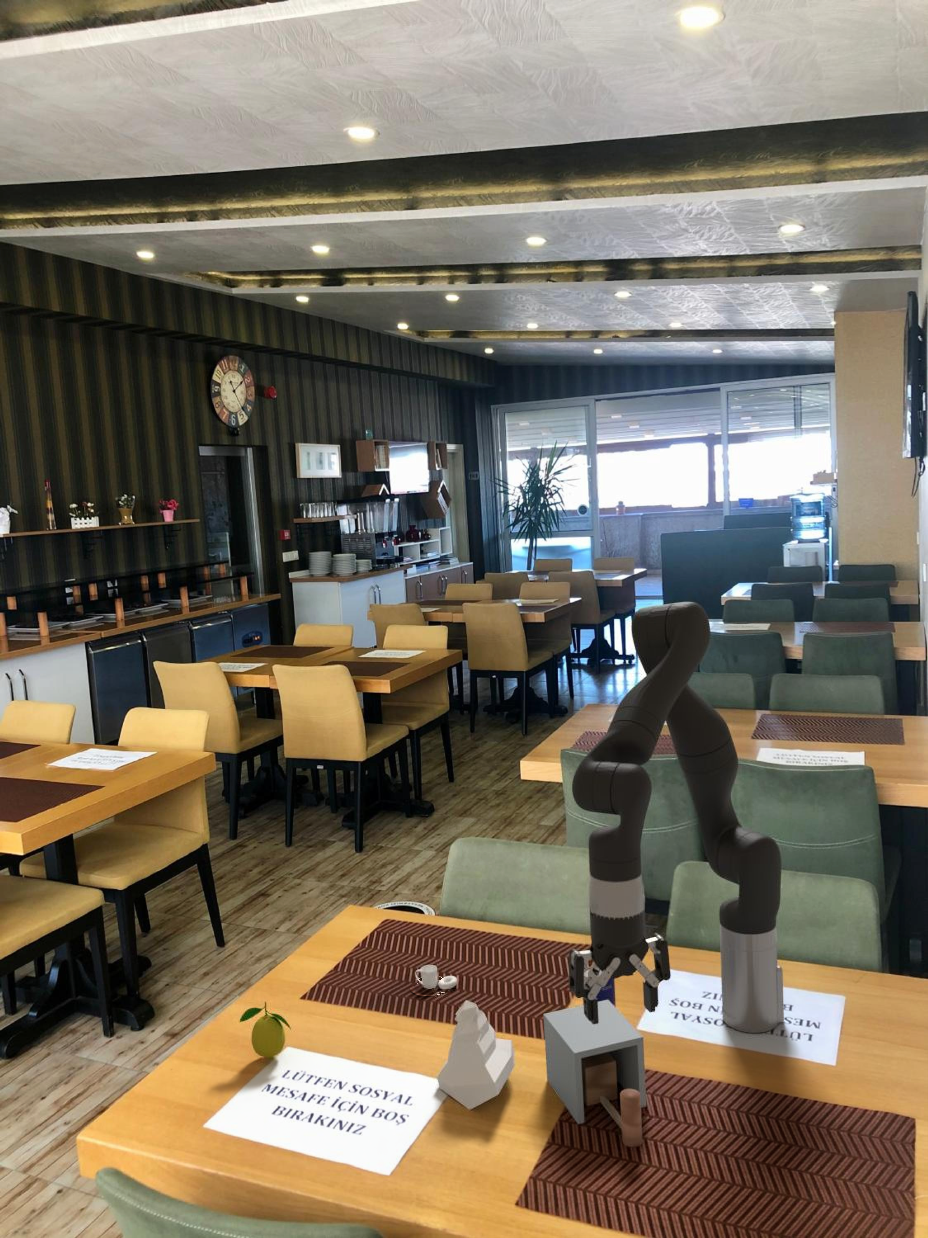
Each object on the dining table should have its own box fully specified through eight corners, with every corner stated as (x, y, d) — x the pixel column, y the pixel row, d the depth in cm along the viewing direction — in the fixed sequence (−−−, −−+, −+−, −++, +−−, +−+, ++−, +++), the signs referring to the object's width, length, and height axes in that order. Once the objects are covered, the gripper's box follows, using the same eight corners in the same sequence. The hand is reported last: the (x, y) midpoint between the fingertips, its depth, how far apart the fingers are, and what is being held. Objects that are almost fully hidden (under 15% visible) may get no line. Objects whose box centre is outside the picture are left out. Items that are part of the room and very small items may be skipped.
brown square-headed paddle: (603, 1080, 157) (601, 1038, 157) (653, 1142, 142) (651, 1096, 141) (573, 1088, 156) (571, 1045, 155) (620, 1151, 140) (618, 1104, 140)
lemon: (242, 1060, 170) (237, 1004, 169) (271, 1045, 174) (266, 990, 173) (266, 1074, 165) (261, 1016, 164) (295, 1058, 169) (290, 1001, 168)
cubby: (611, 1064, 162) (608, 999, 160) (646, 1106, 150) (643, 1037, 149) (547, 1080, 158) (543, 1014, 157) (578, 1124, 147) (574, 1053, 146)
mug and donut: (463, 985, 192) (461, 964, 191) (439, 1004, 185) (438, 983, 185) (425, 975, 197) (423, 955, 196) (401, 994, 190) (399, 973, 189)
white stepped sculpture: (428, 1119, 153) (403, 1027, 154) (464, 1072, 167) (441, 988, 168) (502, 1112, 148) (476, 1017, 149) (533, 1064, 162) (509, 978, 163)
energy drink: (616, 1050, 166) (613, 981, 164) (583, 1049, 167) (580, 980, 165) (618, 1033, 171) (615, 965, 169) (586, 1031, 172) (582, 964, 170)
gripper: (651, 886, 144) (656, 994, 146) (558, 902, 141) (563, 1012, 142) (676, 906, 137) (680, 1019, 139) (578, 923, 133) (584, 1039, 135)
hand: (621, 1015), depth 141 cm, fingers open, 8 cm apart
